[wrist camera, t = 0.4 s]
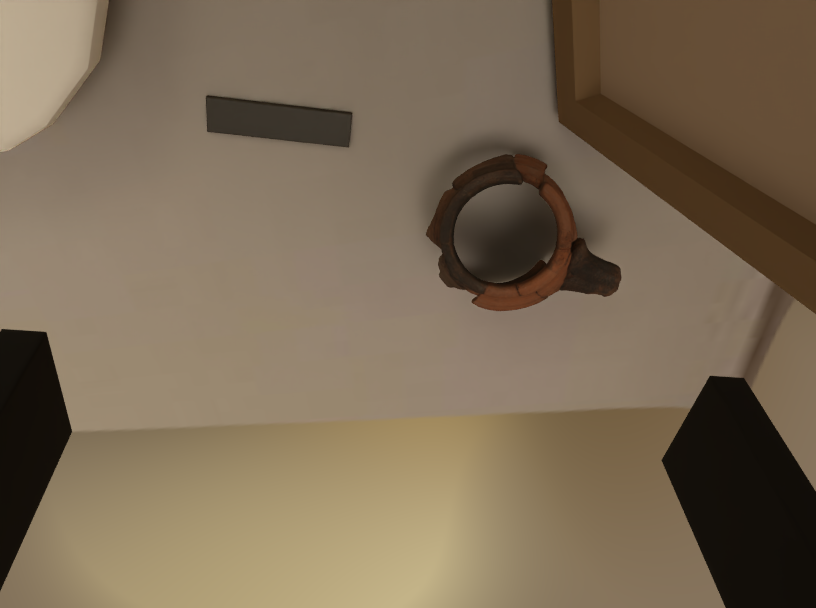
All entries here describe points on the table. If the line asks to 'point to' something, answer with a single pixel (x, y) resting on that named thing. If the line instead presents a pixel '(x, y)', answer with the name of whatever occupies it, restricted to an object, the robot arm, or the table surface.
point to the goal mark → (278, 121)
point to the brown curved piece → (562, 272)
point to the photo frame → (705, 115)
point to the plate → (44, 61)
